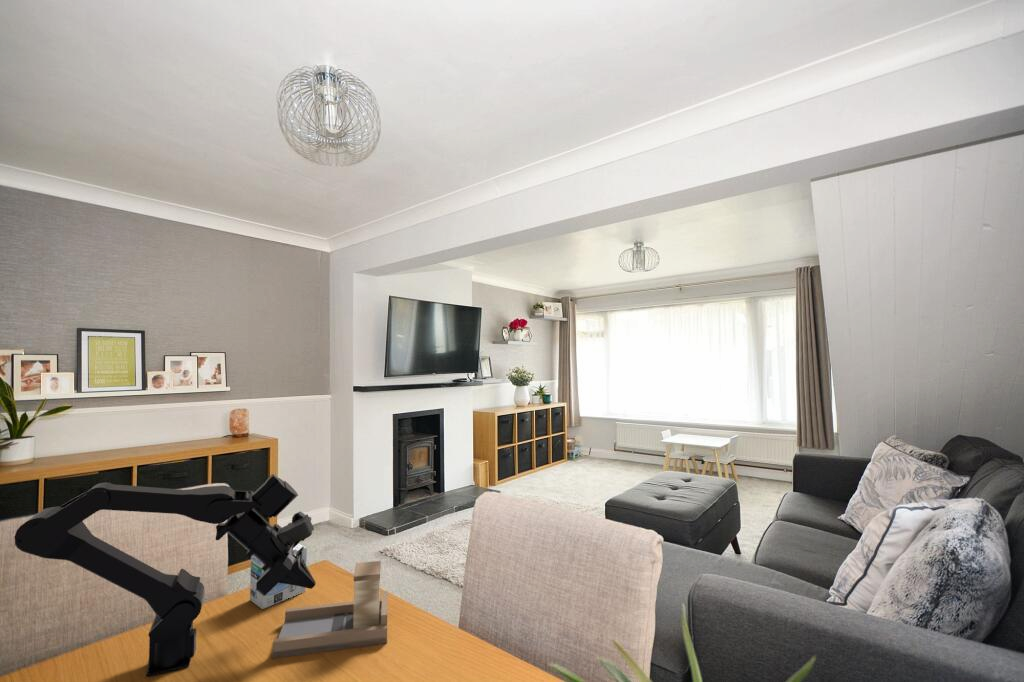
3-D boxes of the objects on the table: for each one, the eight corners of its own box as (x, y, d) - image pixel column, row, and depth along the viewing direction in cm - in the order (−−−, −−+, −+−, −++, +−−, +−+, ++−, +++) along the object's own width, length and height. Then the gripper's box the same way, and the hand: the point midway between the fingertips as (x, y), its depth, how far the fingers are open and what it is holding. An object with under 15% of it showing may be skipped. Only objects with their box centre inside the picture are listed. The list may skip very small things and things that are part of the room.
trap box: (272, 658, 90) (273, 632, 90) (286, 623, 101) (286, 599, 101) (386, 643, 95) (387, 617, 95) (387, 610, 106) (387, 588, 107)
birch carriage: (352, 631, 96) (353, 576, 96) (354, 614, 102) (355, 563, 102) (379, 627, 97) (380, 573, 98) (379, 611, 103) (380, 560, 104)
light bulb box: (262, 610, 106) (263, 562, 106) (248, 600, 110) (249, 553, 110) (307, 591, 115) (308, 546, 115) (292, 583, 119) (293, 539, 119)
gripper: (278, 521, 87) (339, 576, 90) (298, 492, 105) (348, 538, 108) (228, 568, 85) (292, 623, 87) (257, 529, 103) (310, 576, 106)
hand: (313, 586), depth 97 cm, fingers closed
